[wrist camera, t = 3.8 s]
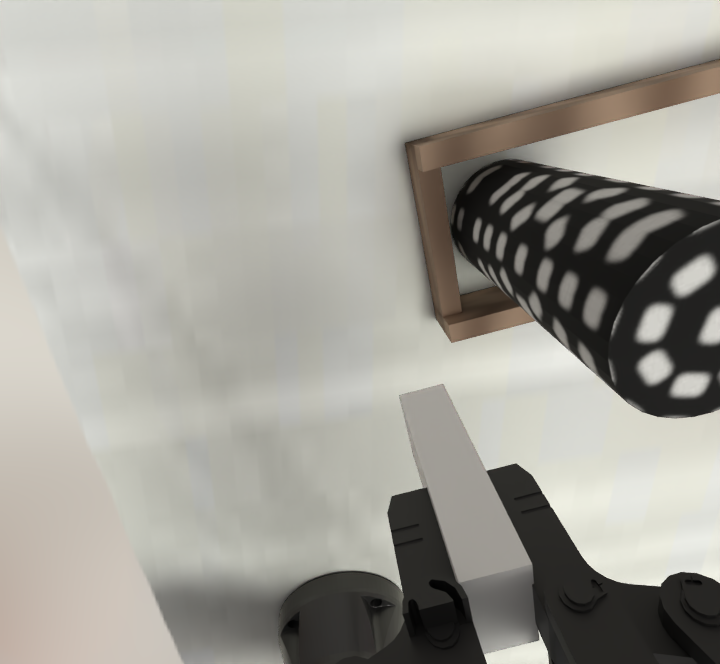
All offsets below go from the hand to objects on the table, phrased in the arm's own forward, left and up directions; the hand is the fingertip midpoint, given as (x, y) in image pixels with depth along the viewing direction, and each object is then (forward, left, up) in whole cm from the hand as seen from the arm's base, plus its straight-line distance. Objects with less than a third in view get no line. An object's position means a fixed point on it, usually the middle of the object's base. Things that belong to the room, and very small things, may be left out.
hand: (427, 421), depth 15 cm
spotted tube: (+11, 0, -22) cm, 24 cm away
